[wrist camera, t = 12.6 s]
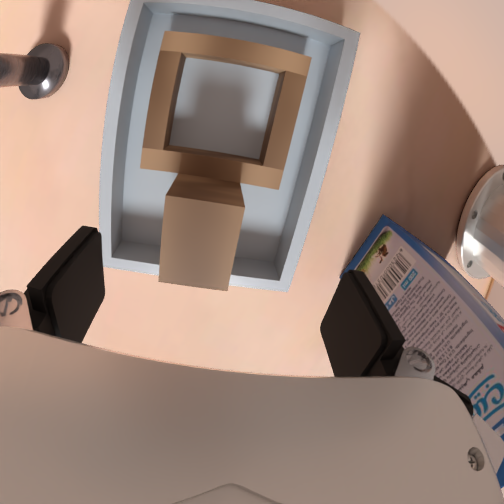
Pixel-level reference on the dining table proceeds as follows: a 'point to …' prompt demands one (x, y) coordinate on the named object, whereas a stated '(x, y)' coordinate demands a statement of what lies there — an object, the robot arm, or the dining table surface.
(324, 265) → the dining table surface
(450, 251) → the dining table surface
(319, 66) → the tray
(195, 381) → the robot arm
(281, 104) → the ring
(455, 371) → the milk carton
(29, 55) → the gray bar-topped pedestal
